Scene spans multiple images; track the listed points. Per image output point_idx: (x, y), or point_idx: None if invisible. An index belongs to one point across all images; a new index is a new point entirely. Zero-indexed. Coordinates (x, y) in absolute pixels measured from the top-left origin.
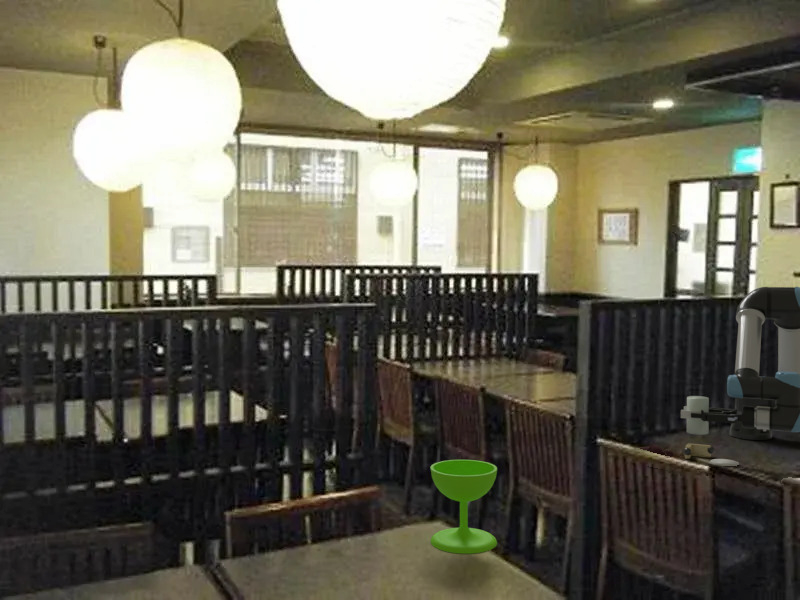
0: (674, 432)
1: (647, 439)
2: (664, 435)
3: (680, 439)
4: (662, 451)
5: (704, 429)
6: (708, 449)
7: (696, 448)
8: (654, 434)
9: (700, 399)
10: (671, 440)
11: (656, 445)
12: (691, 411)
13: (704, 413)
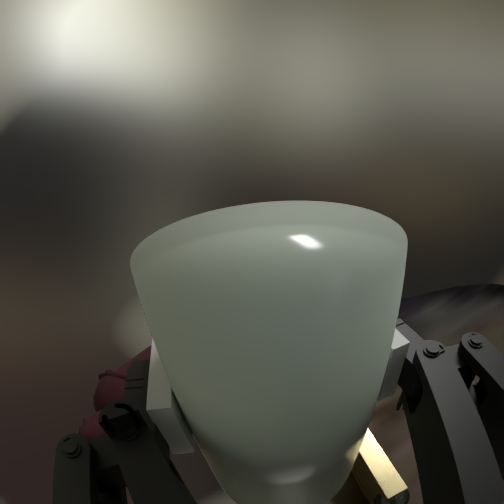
0: (501, 292)
1: (408, 302)
2: (468, 298)
3: (480, 328)
4: (99, 411)
5: (242, 499)
6: (376, 498)
7: (357, 460)
8: (454, 288)
9: (134, 274)
10: (454, 326)
11: (115, 383)
12: (152, 349)
13: (63, 447)
